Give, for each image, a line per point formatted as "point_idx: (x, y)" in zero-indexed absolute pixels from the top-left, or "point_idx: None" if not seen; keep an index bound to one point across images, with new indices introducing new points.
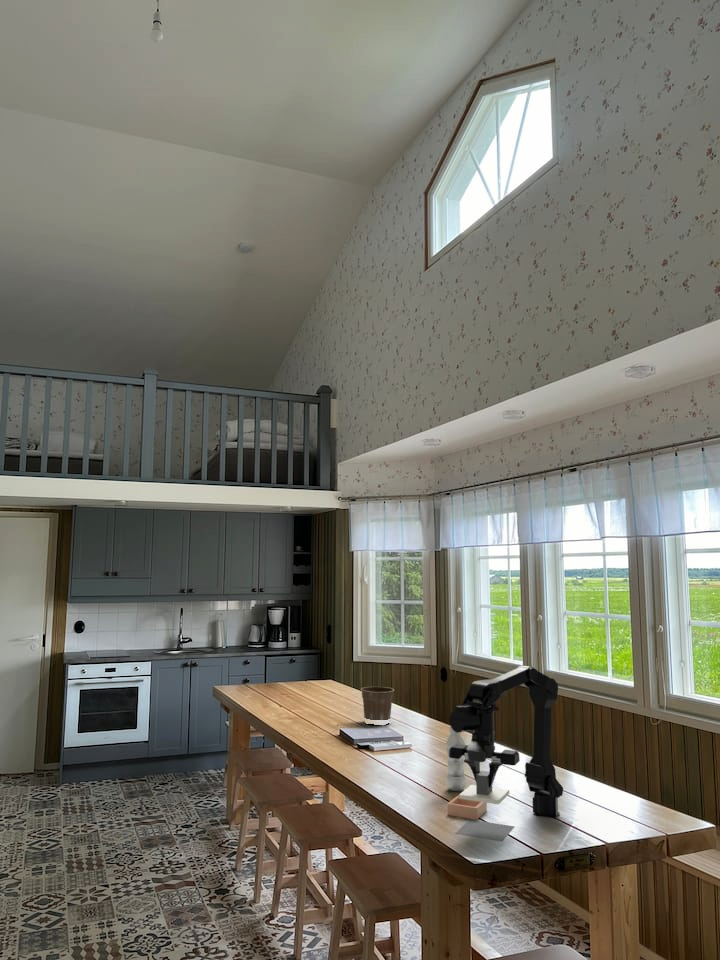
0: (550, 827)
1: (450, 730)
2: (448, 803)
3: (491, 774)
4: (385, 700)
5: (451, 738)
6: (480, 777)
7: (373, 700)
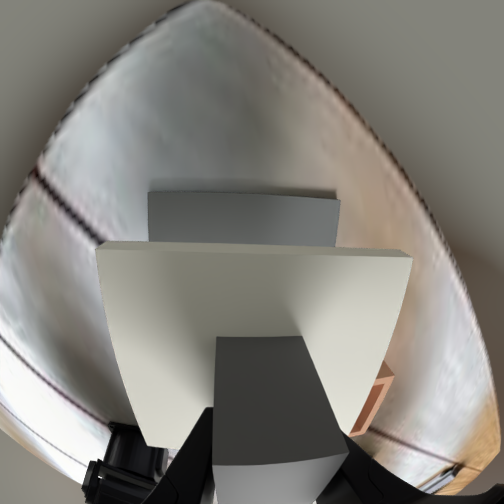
0: (92, 383)
1: None
2: (392, 378)
3: (177, 492)
4: None
5: None
6: (294, 443)
7: None
